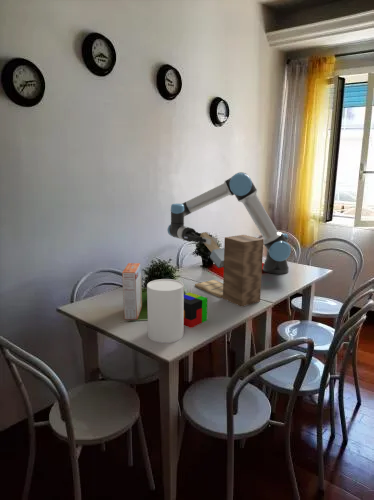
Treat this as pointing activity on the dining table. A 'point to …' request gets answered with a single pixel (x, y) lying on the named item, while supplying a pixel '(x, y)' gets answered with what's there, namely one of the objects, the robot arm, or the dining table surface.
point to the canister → (165, 310)
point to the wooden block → (242, 269)
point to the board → (212, 287)
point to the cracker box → (132, 291)
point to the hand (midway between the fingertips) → (213, 241)
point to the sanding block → (215, 251)
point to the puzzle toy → (194, 309)
